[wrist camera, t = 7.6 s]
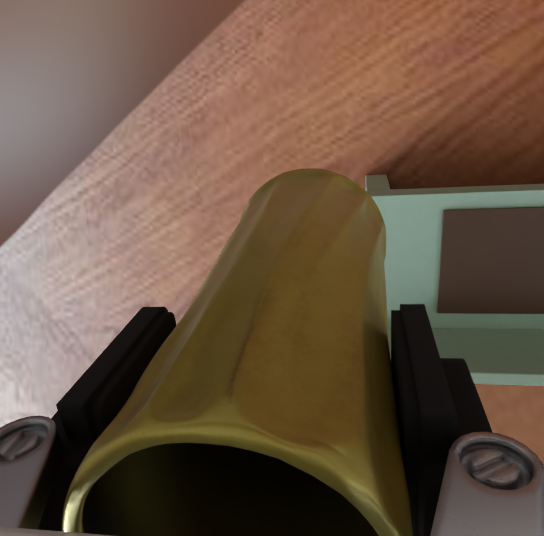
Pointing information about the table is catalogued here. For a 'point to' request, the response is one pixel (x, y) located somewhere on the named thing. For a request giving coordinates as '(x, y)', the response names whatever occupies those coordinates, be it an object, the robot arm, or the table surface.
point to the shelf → (470, 272)
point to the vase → (265, 388)
